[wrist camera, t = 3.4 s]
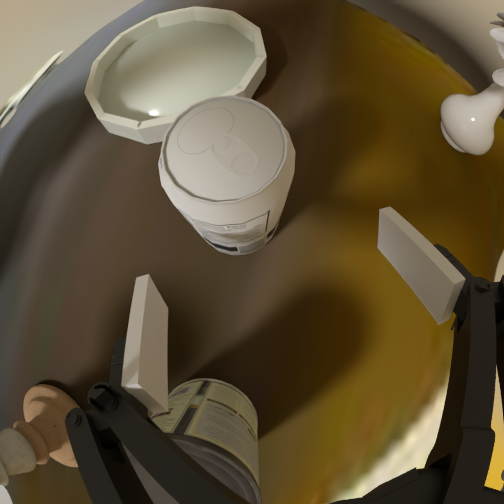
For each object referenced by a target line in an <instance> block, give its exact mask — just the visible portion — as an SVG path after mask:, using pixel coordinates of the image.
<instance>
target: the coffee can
mask: <svg viewBox="0 0 504 504" xmlns="http://www.w3.org/2000/svg"><path fill="white" fill-rule="evenodd" d="M150 418H151V419H152V420H153V422H154V423H155V424H156V425H157V426H158V427H159V428H160V429H161V430H162V431H163V432H164V433H165V434H166V435H167V436H168V437H169V438H171V439H172V440H173V441H174V442H175V443H176V444H177V445H178V446H179V447H180V448H181V449H182V450H183V451H185V452H186V453H187V454H188V455H189V456H190V457H191V458H192V459H194V460H195V461H196V462H197V463H198V464H199V465H201V466H202V467H203V468H204V469H205V470H207V471H208V472H209V473H210V474H212V475H213V476H214V477H215V478H217V479H218V480H219V481H220V482H222V483H223V484H224V485H226V486H227V487H228V488H230V489H231V490H232V491H234V492H235V493H237V494H238V495H239V496H241V497H242V498H244V499H245V500H247V501H248V502H249V503H251V504H262V500H261V493H260V489H259V471H258V440H257V427H258V418H257V413H256V410H255V408H254V406H253V404H252V402H251V401H250V400H249V398H248V397H247V396H246V395H245V394H244V393H243V392H242V391H240V390H239V389H238V388H236V387H235V386H233V385H231V384H229V383H226V382H224V381H220V380H217V379H210V378H200V379H193V380H190V381H187V382H185V383H182V384H181V385H179V386H178V387H176V388H175V389H174V390H173V391H172V392H171V393H170V394H169V396H168V412H161V413H153V415H152V416H151V417H150ZM123 447H124V449H125V451H126V454H127V456H128V458H129V460H130V462H131V464H132V466H133V467H134V469H135V471H136V473H137V475H138V477H139V479H140V481H141V482H142V484H143V486H144V488H145V489H146V491H147V493H148V495H149V496H150V498H151V500H152V501H153V503H154V504H179V503H178V502H177V501H176V500H175V499H174V498H173V497H172V496H171V495H170V494H168V493H167V492H166V491H165V490H164V489H163V488H162V487H161V486H160V485H159V484H158V483H157V481H156V480H155V479H154V478H153V477H152V476H151V475H150V474H149V473H148V472H147V471H146V470H145V469H144V468H143V466H142V465H141V464H140V463H139V462H138V461H137V460H136V458H135V457H134V456H133V455H132V454H131V453H130V451H129V450H128V449H127V448H126V447H125V445H123Z"/></svg>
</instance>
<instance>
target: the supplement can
mask: <svg viewBox="0 0 504 504" xmlns="http://www.w3.org/2000/svg"><path fill="white" fill-rule="evenodd" d="M158 165H159V172H160V179H161V185H162V187H163V188H164V190H165V191H166V193H167V195H168V196H169V198H170V200H171V201H172V203H173V204H174V205H175V206H176V208H177V209H178V210H179V211H180V212H181V213H182V214H183V216H184V217H185V218H186V219H187V220H188V221H189V222H190V224H191V225H192V226H193V227H194V228H195V229H196V230H197V231H198V233H199V234H200V235H201V236H202V237H203V238H204V239H205V240H206V242H207V243H208V244H210V245H211V246H213V247H214V248H215V249H217V250H218V251H220V252H223V253H227V254H230V255H244V254H249V253H252V252H254V251H256V250H259V249H261V248H262V247H263V246H264V245H265V244H266V243H267V242H268V241H269V240H270V239H271V238H272V237H273V235H274V233H275V230H276V228H277V226H278V224H279V221H280V217H281V214H282V211H283V208H284V205H285V201H286V198H287V195H288V192H289V189H290V185H291V182H292V179H293V176H294V169H295V149H294V146H293V143H292V141H291V138H290V135H289V132H288V131H287V130H286V129H285V128H284V127H283V126H282V123H281V121H280V120H279V119H278V118H277V117H276V116H275V115H274V113H273V112H272V111H271V110H270V109H269V108H268V107H266V106H264V105H262V104H260V103H258V102H256V101H255V100H253V99H250V98H244V97H239V96H233V95H228V96H218V97H211V98H208V99H205V100H203V101H200V102H198V103H195V104H193V105H191V106H190V107H189V108H187V109H186V110H185V111H183V112H182V113H181V114H179V115H178V116H177V117H176V118H175V120H174V121H173V123H172V124H171V125H170V127H169V128H168V130H167V131H166V133H165V137H164V140H163V144H162V148H161V155H160V159H159V163H158Z"/></svg>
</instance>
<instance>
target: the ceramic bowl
mask: <svg viewBox="0 0 504 504" xmlns="http://www.w3.org/2000/svg"><path fill="white" fill-rule="evenodd" d="M266 58H267V56H266V52H265V48H264V43H263V39H262V35H261V31H260V28H258V27H257V26H256V25H254V24H253V23H251V22H250V21H248V20H247V19H245V18H243V17H242V16H240V15H239V14H237V13H235V12H234V11H229V10H223V9H215V8H207V7H197V6H195V7H189V8H184V9H179V10H174V11H169V12H164V13H160V14H156V15H154V16H152V17H150V18H148V19H146V20H144V21H142V22H140V23H138V24H136V25H135V26H133V27H131V28H129V29H127V30H126V31H124V32H122V33H121V34H119V35H118V36H117V37H116V38H115V39H114V40H113V41H112V42H111V43H110V44H109V45H108V46H107V48H106V49H105V50H104V51H103V52H102V53H101V54H100V55H99V56H98V58H97V59H96V60H95V61H94V62H93V65H92V68H91V71H90V75H89V78H88V82H87V85H86V89H85V92H84V93H85V95H86V97H87V99H88V101H89V103H90V105H91V107H92V109H93V111H94V113H95V114H96V116H97V118H98V120H99V121H100V122H101V123H102V124H103V125H104V127H105V128H106V129H107V130H108V131H109V133H113V134H116V135H119V136H123V137H126V138H129V139H132V140H135V141H139V142H142V143H145V144H151V143H156V142H162V141H163V140H164V137H165V133H166V131H167V130H168V128H169V127H170V125H171V124H172V123H173V121H174V120H175V118H176V117H177V116H178V115H179V114H181V113H182V112H183V111H185V110H186V109H187V108H189V107H190V106H191V105H193V104H195V103H198V102H200V101H203V100H205V99H208V98H211V97H218V96H228V95H233V96H239V97H244V98H250V99H251V98H252V96H253V94H254V93H255V91H256V89H257V88H258V86H259V85H260V83H261V81H262V80H263V78H264V77H265V75H266Z"/></svg>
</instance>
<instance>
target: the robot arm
mask: <svg viewBox="0 0 504 504" xmlns="http://www.w3.org/2000/svg"><path fill="white" fill-rule="evenodd" d="M377 248H378V249H379V250H380V251H381V253H382V254H383V255H384V256H385V257H386V259H387V260H388V261H389V262H390V263H391V264H392V266H393V267H394V268H395V269H396V270H397V272H398V273H399V274H400V275H401V277H402V278H403V279H404V280H405V282H406V283H407V284H408V285H409V287H410V288H411V289H412V290H413V292H414V293H415V294H416V295H417V297H418V298H419V299H420V301H421V302H422V303H423V305H424V306H425V307H426V309H427V310H428V311H429V313H430V314H431V315H432V317H433V318H434V319H435V321H436V322H437V323H438V325H440V324H442V323H444V322H446V321H447V320H449V319H450V317H451V315H452V313H453V311H454V313H455V314H456V315H457V316H456V318H455V320H454V323H453V325H452V327H451V330H453V328H454V326H455V329H454V342H453V353H452V361H451V369H450V376H449V383H448V389H447V394H446V400H445V405H444V410H443V414H442V419H441V423H440V427H439V431H438V435H437V439H436V442H435V445H434V447H433V449H432V450H431V452H430V454H429V456H428V459H427V461H426V464H425V467H424V468H422V469H416V467H415V468H414V469H412V470H410V471H408V472H406V473H404V474H402V475H400V476H398V477H396V478H394V479H392V480H390V481H387V482H385V483H383V484H381V485H379V486H378V487H376V488H375V489H373V490H372V491H370V492H369V493H368V494H366V495H365V496H363V497H362V498H355V499H348V500H340V501H336V502H333V503H330V504H504V486H503V488H502V490H501V491H499V490H496V489H492V488H489V487H486V486H484V485H485V481H486V477H487V474H488V470H489V466H490V461H491V457H492V452H493V447H494V442H495V432H494V431H493V430H492V429H491V420H492V413H493V403H494V393H495V380H496V365H497V371H498V377H499V383H500V390H501V398H502V408H503V419H504V275H503V276H502V278H501V280H500V282H493V283H489V281H487V280H486V279H484V278H481V277H476V278H475V277H474V276H473V275H472V274H471V273H470V272H469V271H468V270H467V269H466V268H465V267H464V266H463V265H462V264H461V263H460V262H459V261H457V259H456V258H455V257H454V256H452V254H451V253H450V252H449V251H448V250H447V249H446V248H444V247H442V246H441V245H439V244H435V245H432V244H431V243H430V242H429V241H428V240H427V239H426V238H425V237H424V236H423V235H422V234H421V233H419V232H418V231H417V230H416V229H415V228H414V227H413V226H412V225H411V224H410V223H409V222H407V221H406V220H405V219H404V218H403V217H402V216H401V215H400V214H398V213H397V212H396V211H395V210H394V209H393V208H391V207H386V208H382V209H379V231H378V247H377ZM167 338H168V307H167V306H166V304H165V302H164V300H163V299H162V297H161V295H160V293H159V292H158V290H157V288H156V286H155V284H154V283H153V281H152V279H151V277H150V275H149V274H147V275H144V276H140V277H137V278H136V282H135V288H134V293H133V299H132V305H131V311H130V317H129V324H128V331H127V337H123V338H118V339H117V341H116V343H115V345H114V347H113V353H112V360H111V367H110V375H109V383H107V382H103V381H101V382H97V383H96V384H94V385H93V386H92V387H91V388H90V389H89V392H88V394H87V401H88V404H89V405H90V406H91V407H92V409H90V410H87V411H84V410H82V409H81V408H73V409H71V410H70V411H69V412H68V414H67V415H66V418H65V427H66V430H67V434H68V437H69V441H70V444H71V447H72V450H73V453H74V456H75V459H76V462H77V465H78V468H79V471H80V473H81V476H82V479H83V481H84V484H85V486H86V488H87V491H88V493H89V496H90V498H91V500H92V502H93V504H154V503H153V501H152V500H151V498H150V496H149V495H148V493H147V491H146V489H145V488H144V486H143V484H142V482H141V481H140V479H139V477H138V475H137V473H136V471H135V469H134V467H133V466H132V464H131V462H130V460H129V458H128V456H127V454H126V451H125V449H124V447H123V445H122V443H123V444H124V445H125V447H126V448H127V449H128V450H129V451H130V453H131V454H132V455H133V456H134V457H135V458H136V460H137V461H138V462H139V463H140V464H141V465H142V466H143V468H144V469H145V470H146V471H147V472H148V473H149V474H150V475H151V476H152V477H153V478H154V479H155V480H156V481H157V483H158V484H159V485H160V486H161V487H162V488H163V489H164V490H165V491H166V492H167V493H168V494H170V495H171V496H172V497H173V498H174V499H175V500H176V501H177V502H178V503H179V504H251V503H249V502H248V501H247V500H245V499H244V498H242V497H241V496H239V495H238V494H237V493H235V492H234V491H232V490H231V489H230V488H228V487H227V486H226V485H224V484H223V483H222V482H220V481H219V480H218V479H217V478H215V477H214V476H213V475H212V474H210V473H209V472H208V471H207V470H205V469H204V468H203V467H202V466H201V465H199V464H198V463H197V462H196V461H195V460H194V459H192V458H191V457H190V456H189V455H188V454H187V453H186V452H185V451H183V450H182V449H181V448H180V447H179V446H178V445H177V444H176V443H175V442H174V441H173V440H172V439H171V438H169V437H168V436H167V435H166V434H165V433H164V432H163V431H162V430H161V429H160V428H159V427H158V426H157V425H156V424H155V423H154V422H153V420H152V419H151V418H149V417H148V409H149V410H150V411H151V412H152V413H161V412H168V378H167ZM121 442H122V443H121ZM501 478H502V480H503V481H504V470H503V472H502V475H501Z"/></svg>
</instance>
